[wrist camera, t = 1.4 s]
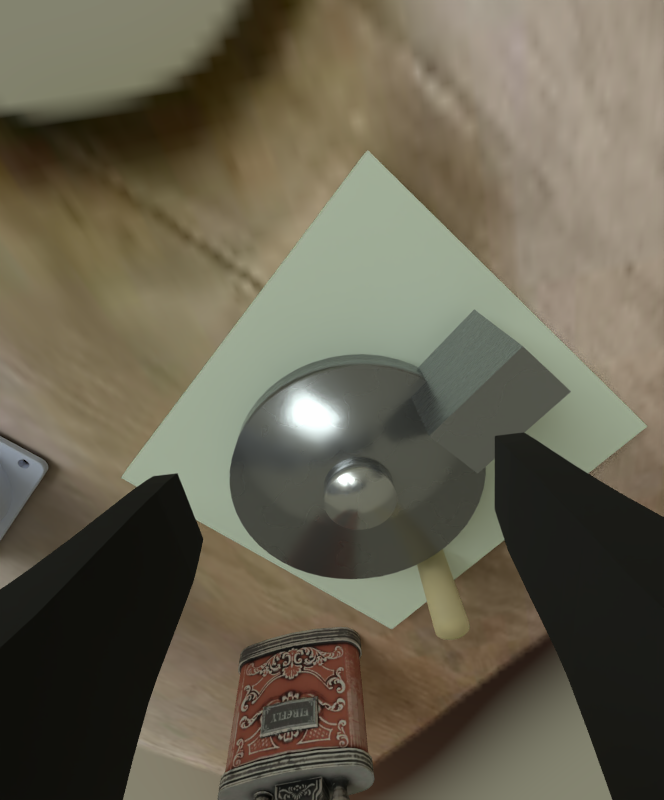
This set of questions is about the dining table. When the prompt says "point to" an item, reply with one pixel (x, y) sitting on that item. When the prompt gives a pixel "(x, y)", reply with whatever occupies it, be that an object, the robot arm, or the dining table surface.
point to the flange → (382, 451)
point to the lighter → (299, 720)
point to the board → (374, 335)
